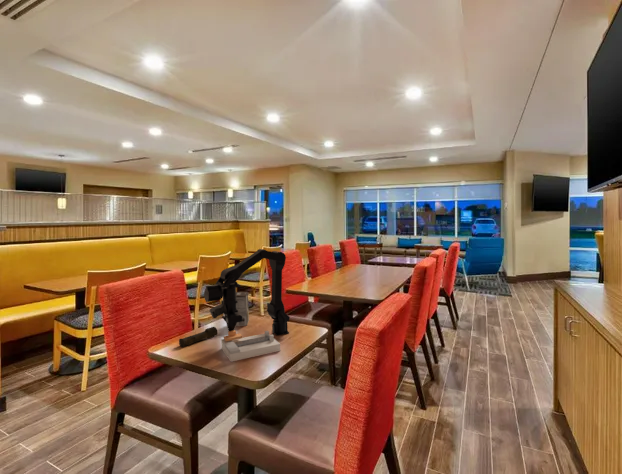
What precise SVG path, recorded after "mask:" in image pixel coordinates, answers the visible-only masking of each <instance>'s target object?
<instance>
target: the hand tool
mask: <svg viewBox="0 0 622 474" xmlns="http://www.w3.org/2000/svg"><path fill="white" fill-rule="evenodd" d="M218 333H219V332H218V329H217V328H216V327H215V326H211V327H208V328H206V329H205V330H204V331H201V332H198V333H195V334H193V335H189V336H186V337H183V338H179V339H178V344H179V347H181V348H184V347H187V346H188V345H191V344H194V343H196V342H199V341H203V340H205V339H206V340H207V339H212V338H214V337H216V336H218Z"/></svg>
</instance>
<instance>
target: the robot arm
mask: <svg viewBox="0 0 622 474" xmlns="http://www.w3.org/2000/svg"><path fill="white" fill-rule="evenodd" d="M286 257H287V256H286V254H285V253H284V252H282V251H277V250H273V251H271V250H270V251H269V250H266V249H262V248H259V249H257V250H256V251H255V252H253V253H252V254H251V255H249V256H247V258H244V259H243V260H242V261H241V262H239V263H237V264H235V265H232V266H229V267H227V268H224V269H223V270H222V271H221V272H220V274H219V275H220V276H219V278H218V279H217V281H216V282H215V284H211V285H205V288H204V293H203V296H204V301H205V302H206V303H209V302H215V301H216V302H217V301H220V300H221V303H220V304H219V305H218V304H217V305H216V306H213V307H212V308H209V310H208V311H209V312H210V315H211V317H212V319H217V318H218V317H219V316H221V315H223V316H221V319H222V320H224V321H225V323H226V326H227V327H226V328H227V331H232V330H235V328H236V327H237V326H236V324H237V322H242V321H243V317H242V316H241V315H240V314H239V313H237V312H238V310H237V305H236V303H238V301H237V300H236V292H237V288H240V287H241V285H240V284H239V283H238V282H237V281H238V280H239V279H240V278H241V276H242V275H243V274H244V273H245V272H246V271H247V270H249V269H251V268H252V267H254V266H255V265H257V264H258V263H259V262H260V261H262V260H263V259H265V260H268V262H269V266H270V269H271V299H270V302H267V304H266V305H267V308H266V312H267V314H268V315H269V317H271V320H272V324H271V327H272V329H271V332H272V334H273V335H274V336H275V335H276V336H282V335H287V334H290V331H289V330H288V323H289V322H290V317H291V316H289V315H288V314H287V313H286V310H285V305H284V302H283V300H282V295H283V293H282V292H283V290H282V289H283V286H282V285H283V269H284V267H285V265H286V259H287V258H286Z"/></svg>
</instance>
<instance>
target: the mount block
mask: <svg viewBox="0 0 622 474" xmlns="http://www.w3.org/2000/svg"><path fill="white" fill-rule="evenodd" d="M264 336H269V341H264V342H259V343H254V344H249V345H244V346H239V347H237V345H236V344H235V342H238V341H243V340H249V339H254V338H259V337H264ZM274 337H275V334H274V333H272V334H270V331H269V330H264V333H260V334H255V335H250V336H245V337H242V338H241V339H236V340H231V341H225V340H224V338H223V339H221V343H220V344H221V350H222V351H223V353H224V355H225V356H226V357H227V358H228V360H229V361H230V362H236V361H240V360H246V359H248V358H254V357H258V356H264V355H266V354H271V353H272V354H273V353H275V352H280V351H281V343H280V342H279V341H278V340H277V339H276V338H274Z"/></svg>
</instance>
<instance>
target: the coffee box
mask: <svg viewBox="0 0 622 474" xmlns="http://www.w3.org/2000/svg"><path fill="white" fill-rule="evenodd" d="M236 300H237V301H238V303H236V305H237V310H238V312H237V313H239V314H240V315H241V316H242V317H243V321H242V322H237V324H236V326H235V327H242V326H243V327H246V326H248V324H249V321H250V320H249V319H250V315H249V292H248V291H236Z"/></svg>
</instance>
